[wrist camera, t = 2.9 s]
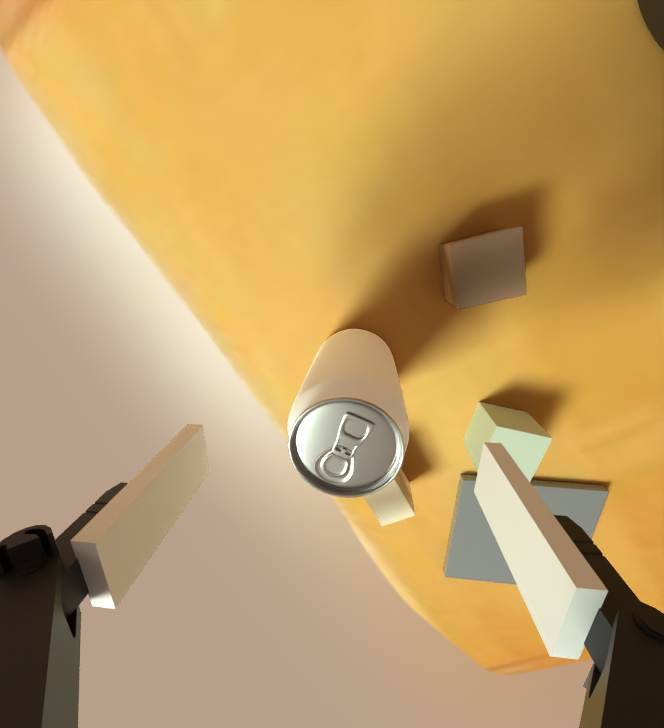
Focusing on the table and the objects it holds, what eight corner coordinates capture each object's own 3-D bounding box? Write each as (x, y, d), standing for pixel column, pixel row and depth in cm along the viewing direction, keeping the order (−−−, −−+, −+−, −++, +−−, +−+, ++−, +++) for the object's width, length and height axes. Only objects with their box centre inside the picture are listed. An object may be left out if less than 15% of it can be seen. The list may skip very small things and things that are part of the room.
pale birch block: (355, 452, 30) (354, 482, 26) (385, 440, 29) (388, 469, 25) (380, 492, 31) (382, 526, 27) (409, 481, 30) (415, 515, 26)
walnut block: (437, 245, 23) (450, 244, 19) (496, 229, 22) (522, 226, 18) (445, 299, 24) (459, 309, 20) (501, 287, 23) (526, 294, 20)
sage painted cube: (478, 401, 27) (496, 426, 23) (526, 411, 26) (552, 438, 23) (462, 441, 28) (477, 471, 24) (507, 451, 28) (529, 482, 24)
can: (304, 382, 28) (261, 474, 16) (334, 313, 25) (308, 366, 14) (372, 411, 28) (377, 522, 17) (408, 347, 26) (440, 424, 14)
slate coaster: (460, 474, 29) (463, 480, 28) (602, 485, 28) (609, 491, 27) (443, 569, 33) (444, 577, 32) (566, 582, 32) (571, 590, 31)
